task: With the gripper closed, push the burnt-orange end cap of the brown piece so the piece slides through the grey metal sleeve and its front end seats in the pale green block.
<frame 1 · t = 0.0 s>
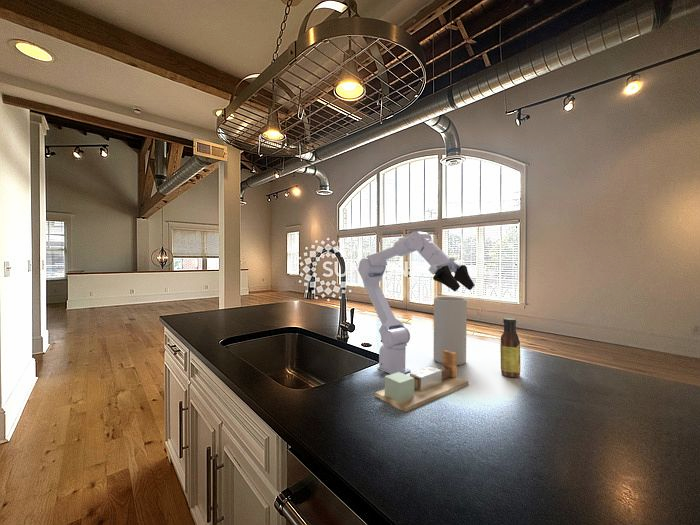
hand: (465, 288, 90), 32 cm above the countertop, tool tilted 50°, fingers open, 7 cm apart
brown piece: (433, 369, 98), point 6 cm above the countertop, slide at 0.0 cm
base board: (423, 390, 95), on the countertop
cylinder vase: (449, 361, 124), on the countertop
metal sleeve: (425, 378, 96), on the base board, point 3 cm above the countertop
pale green block: (399, 386, 88), on the base board, point 4 cm above the countertop
sauce bottle: (510, 375, 109), on the countertop
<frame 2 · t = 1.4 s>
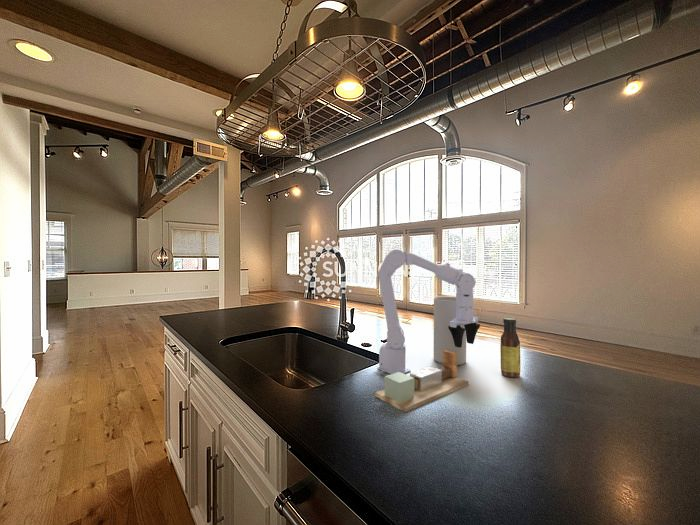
hand: (464, 345, 108), 10 cm above the countertop, tool pointing down, fingers open, 7 cm apart
nothing on the countertop moved.
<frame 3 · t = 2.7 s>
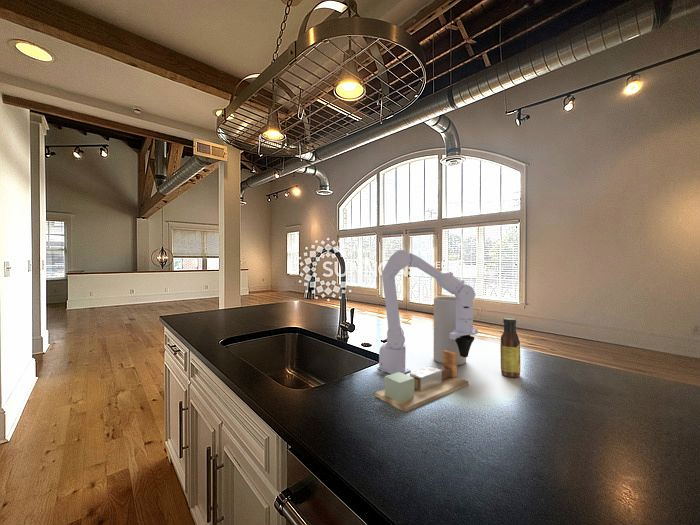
hand: (463, 356, 109), 6 cm above the countertop, tool pointing down, fingers closed
nothing on the countertop moved.
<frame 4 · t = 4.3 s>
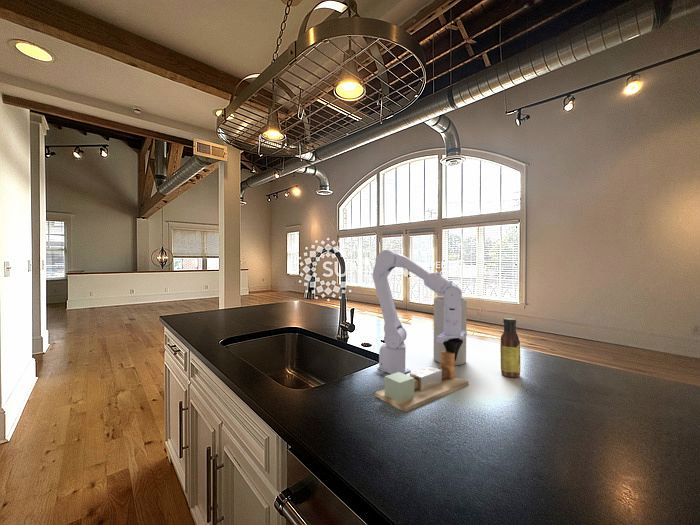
hand: (452, 360, 104), 6 cm above the countertop, tool pointing down, fingers closed
brown piece: (431, 369, 97), point 6 cm above the countertop, slide at 1.2 cm, touching gripper
everything else where it was.
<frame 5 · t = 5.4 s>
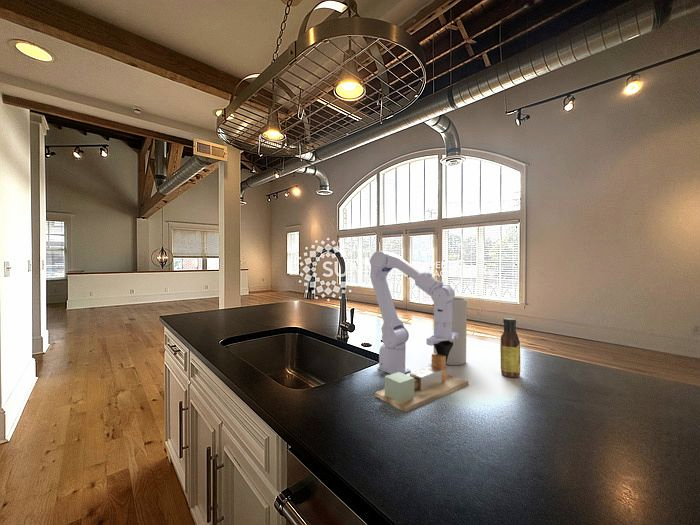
hand: (442, 363, 101), 6 cm above the countertop, tool pointing down, fingers closed
brown piece: (421, 373, 94), point 6 cm above the countertop, slide at 6.1 cm, touching gripper
everything else where it was.
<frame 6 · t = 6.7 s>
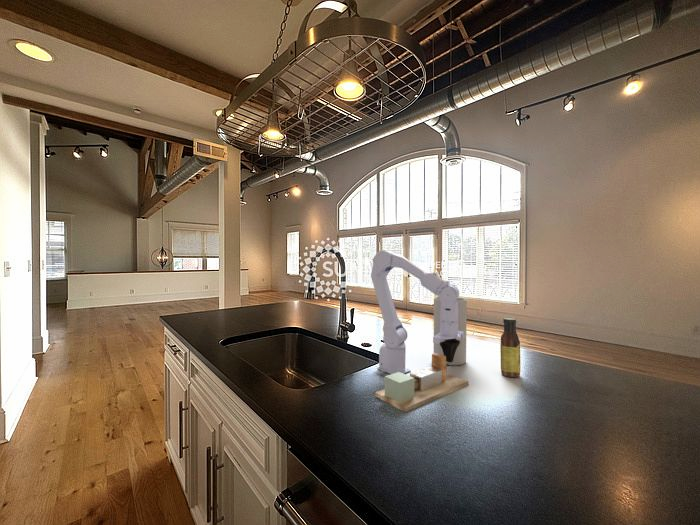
hand: (449, 361, 103), 6 cm above the countertop, tool pointing down, fingers closed
brown piece: (421, 373, 94), point 6 cm above the countertop, slide at 6.0 cm
everything else where it was.
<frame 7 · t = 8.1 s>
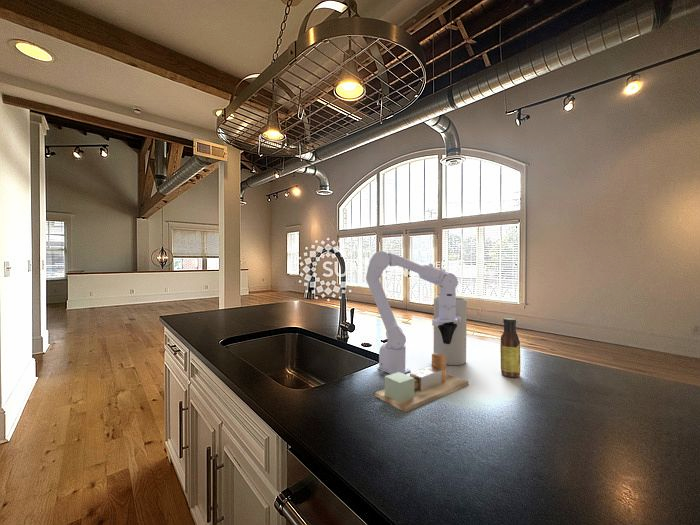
hand: (446, 343, 111), 10 cm above the countertop, tool pointing down, fingers closed
nothing on the countertop moved.
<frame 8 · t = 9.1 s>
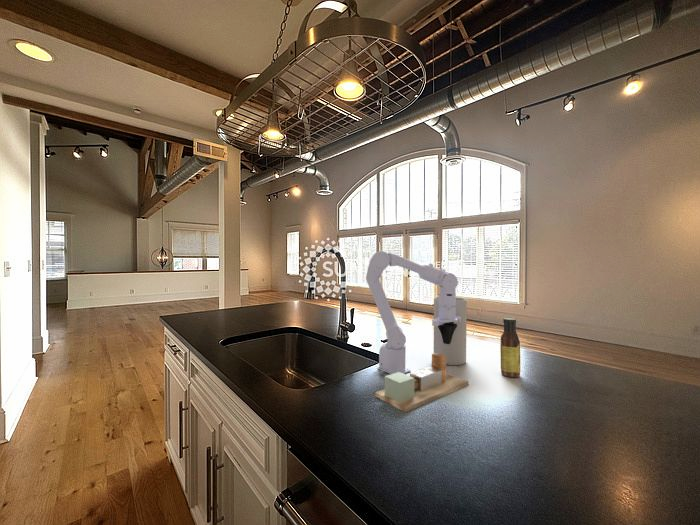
hand: (446, 343, 111), 10 cm above the countertop, tool pointing down, fingers closed
nothing on the countertop moved.
at the end: brown piece slide at 6.0 cm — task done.
